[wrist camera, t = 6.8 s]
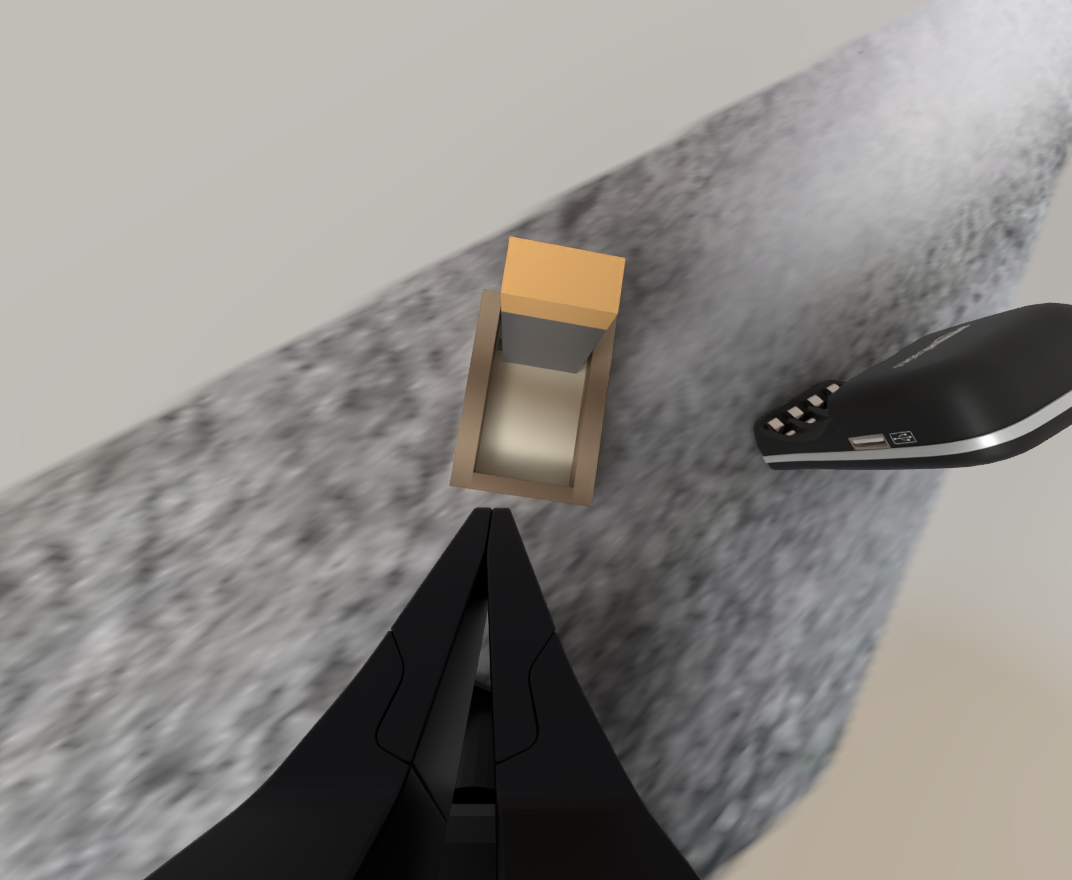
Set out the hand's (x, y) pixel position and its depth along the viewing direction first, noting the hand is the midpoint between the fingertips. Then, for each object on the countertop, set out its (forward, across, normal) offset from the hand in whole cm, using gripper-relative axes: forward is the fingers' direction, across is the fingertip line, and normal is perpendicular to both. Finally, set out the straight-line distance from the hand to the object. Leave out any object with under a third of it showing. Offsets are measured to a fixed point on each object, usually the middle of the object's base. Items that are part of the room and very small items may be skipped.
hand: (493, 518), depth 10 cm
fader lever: (+13, -1, +2) cm, 14 cm away
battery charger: (+13, -17, +6) cm, 22 cm away
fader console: (+13, -1, +5) cm, 14 cm away
